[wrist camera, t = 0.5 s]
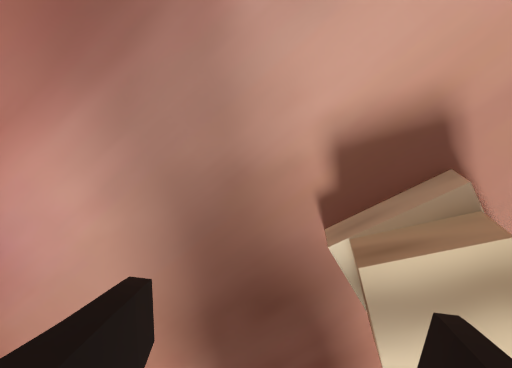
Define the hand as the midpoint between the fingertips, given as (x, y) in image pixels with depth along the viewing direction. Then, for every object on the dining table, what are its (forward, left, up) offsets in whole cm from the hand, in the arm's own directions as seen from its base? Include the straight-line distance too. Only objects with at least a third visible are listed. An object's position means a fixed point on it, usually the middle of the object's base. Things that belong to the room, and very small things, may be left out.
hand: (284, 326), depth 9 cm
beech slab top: (-6, -5, -8) cm, 11 cm away
